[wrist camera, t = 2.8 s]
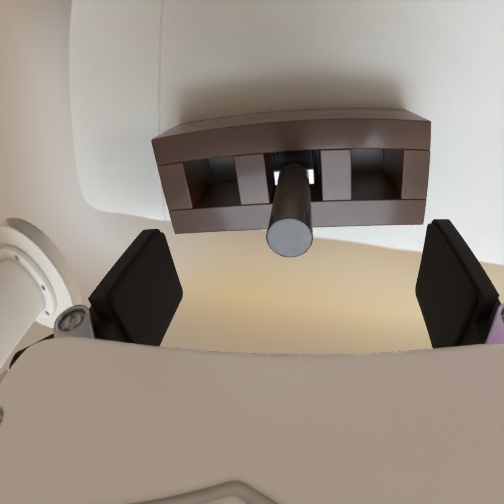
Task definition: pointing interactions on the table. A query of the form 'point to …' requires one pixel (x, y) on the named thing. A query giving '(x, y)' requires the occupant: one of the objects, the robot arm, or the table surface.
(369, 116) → the utensil block
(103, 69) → the table surface
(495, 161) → the table surface
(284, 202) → the grey handled tool
